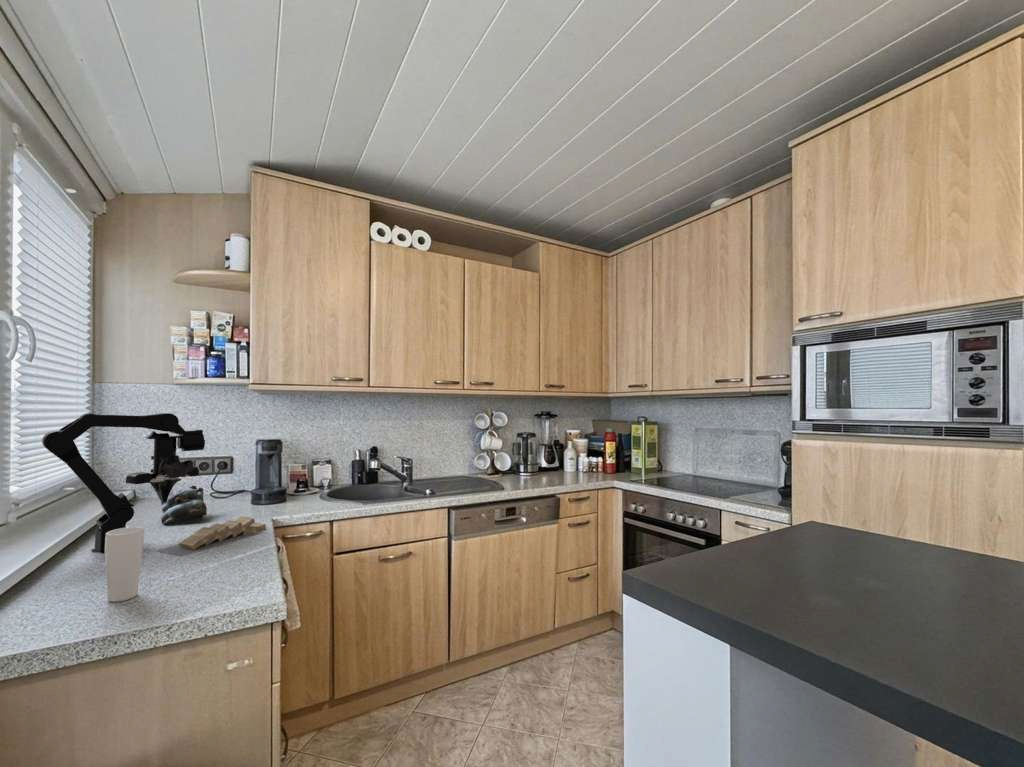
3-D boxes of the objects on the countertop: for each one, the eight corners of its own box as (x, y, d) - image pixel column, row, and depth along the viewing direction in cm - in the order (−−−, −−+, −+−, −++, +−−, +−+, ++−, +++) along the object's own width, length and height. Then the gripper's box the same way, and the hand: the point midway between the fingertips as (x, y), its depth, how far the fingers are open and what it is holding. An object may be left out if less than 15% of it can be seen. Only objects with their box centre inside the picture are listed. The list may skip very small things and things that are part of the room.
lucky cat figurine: (152, 526, 164) (149, 489, 169) (171, 531, 175) (168, 496, 180) (199, 512, 167) (195, 475, 172) (215, 517, 178) (210, 483, 183)
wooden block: (232, 533, 150) (253, 518, 156) (219, 531, 152) (241, 516, 159) (234, 537, 150) (255, 522, 157) (221, 535, 153) (242, 520, 159)
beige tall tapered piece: (109, 607, 101) (112, 536, 101) (97, 599, 105) (100, 531, 105) (147, 596, 107) (149, 529, 107) (134, 589, 110) (136, 525, 111)
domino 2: (204, 541, 141) (228, 525, 148) (191, 538, 144) (215, 523, 151) (206, 545, 142) (229, 529, 149) (193, 543, 144) (217, 527, 151)
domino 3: (218, 537, 145) (240, 521, 152) (205, 535, 148) (228, 519, 155) (220, 541, 146) (242, 526, 153) (207, 539, 148) (230, 524, 155)
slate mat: (180, 557, 132) (180, 556, 132) (154, 552, 137) (154, 550, 137) (259, 534, 155) (259, 533, 155) (234, 530, 160) (234, 529, 160)
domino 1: (191, 545, 137) (216, 529, 144) (178, 543, 140) (204, 526, 146) (193, 550, 138) (218, 533, 145) (180, 547, 140) (205, 531, 147)
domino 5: (244, 530, 153) (265, 524, 161) (231, 527, 156) (253, 522, 163) (244, 535, 153) (265, 528, 161) (231, 532, 156) (253, 526, 163)
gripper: (147, 457, 137) (146, 511, 137) (210, 450, 155) (209, 498, 154) (125, 455, 142) (123, 507, 141) (189, 449, 159) (187, 495, 158)
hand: (163, 502), depth 149 cm, fingers closed
